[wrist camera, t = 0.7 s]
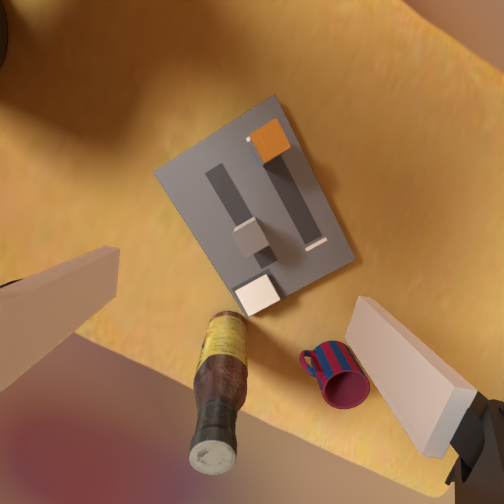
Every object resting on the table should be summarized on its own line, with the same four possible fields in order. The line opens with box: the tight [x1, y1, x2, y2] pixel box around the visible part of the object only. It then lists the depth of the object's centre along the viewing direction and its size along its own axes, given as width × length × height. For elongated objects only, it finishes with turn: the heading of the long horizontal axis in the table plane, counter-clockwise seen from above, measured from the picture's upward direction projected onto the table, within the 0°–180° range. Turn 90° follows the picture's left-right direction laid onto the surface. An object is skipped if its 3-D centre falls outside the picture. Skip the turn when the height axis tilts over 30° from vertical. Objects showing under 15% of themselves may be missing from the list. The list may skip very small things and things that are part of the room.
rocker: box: [235, 274, 280, 316], centre depth 36 cm, size 4×5×2 cm
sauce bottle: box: [189, 311, 248, 475], centre depth 30 cm, size 6×6×20 cm
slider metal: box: [249, 118, 291, 166], centre depth 29 cm, size 3×3×6 cm
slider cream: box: [231, 217, 270, 258], centre depth 31 cm, size 3×3×6 cm
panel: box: [153, 94, 356, 318], centre depth 35 cm, size 24×18×2 cm
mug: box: [299, 341, 370, 409], centre depth 38 cm, size 7×10×7 cm
